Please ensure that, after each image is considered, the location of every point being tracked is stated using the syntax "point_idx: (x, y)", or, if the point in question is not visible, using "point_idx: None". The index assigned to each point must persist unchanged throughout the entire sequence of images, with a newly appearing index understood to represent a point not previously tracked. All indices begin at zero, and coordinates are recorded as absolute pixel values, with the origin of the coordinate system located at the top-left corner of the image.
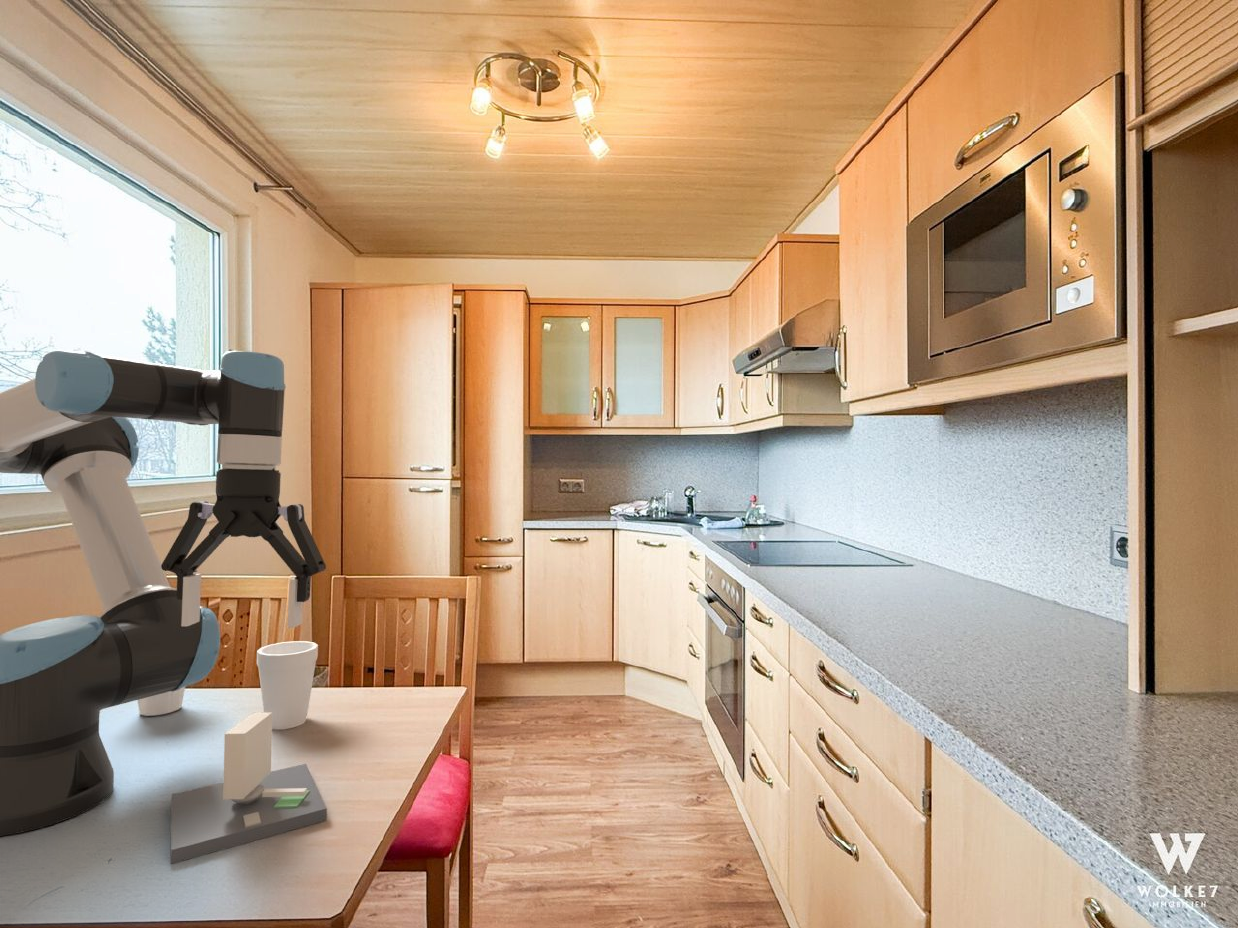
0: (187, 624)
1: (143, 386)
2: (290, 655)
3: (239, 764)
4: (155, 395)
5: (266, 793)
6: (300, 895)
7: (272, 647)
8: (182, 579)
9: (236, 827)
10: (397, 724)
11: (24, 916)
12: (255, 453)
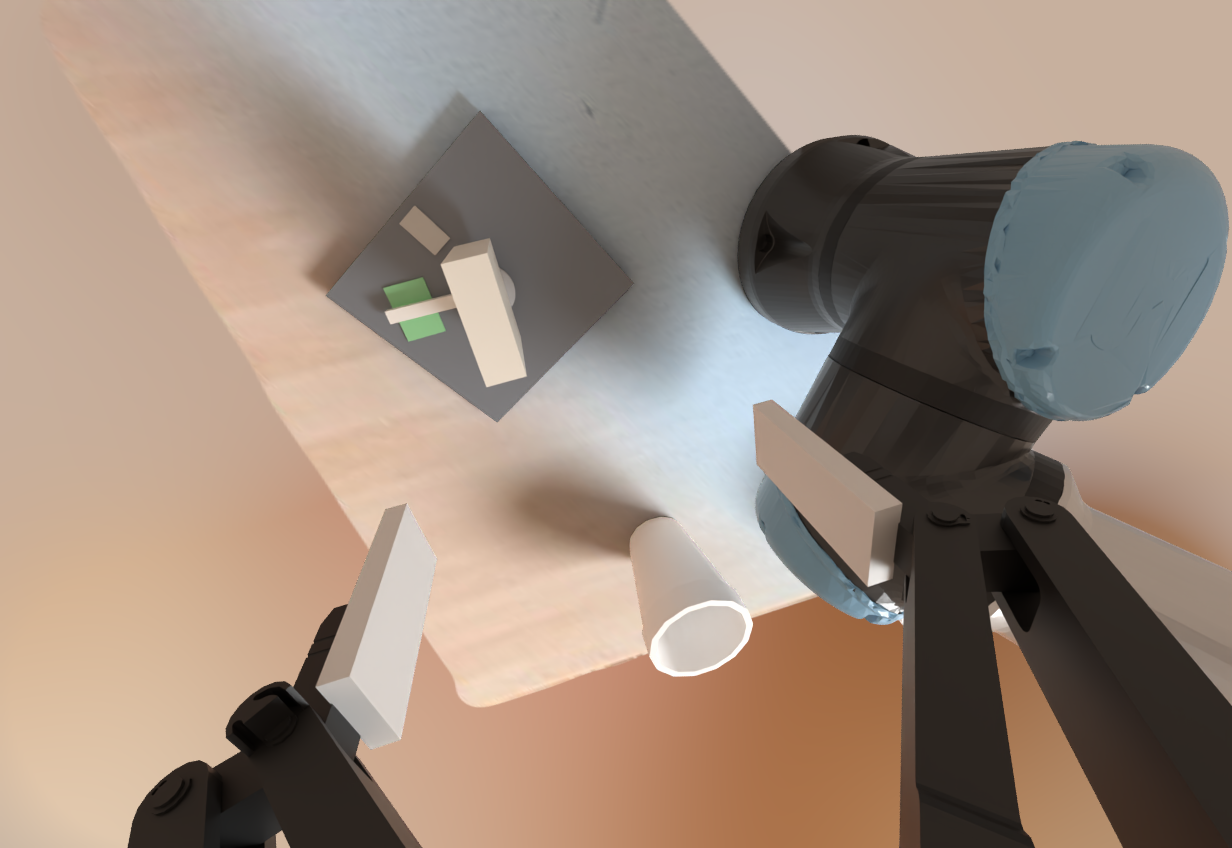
0: (755, 408)
1: None
2: (670, 615)
3: (457, 252)
4: None
5: (451, 294)
6: (149, 46)
7: (739, 636)
8: (903, 506)
9: (431, 203)
10: (478, 585)
11: None
12: None
